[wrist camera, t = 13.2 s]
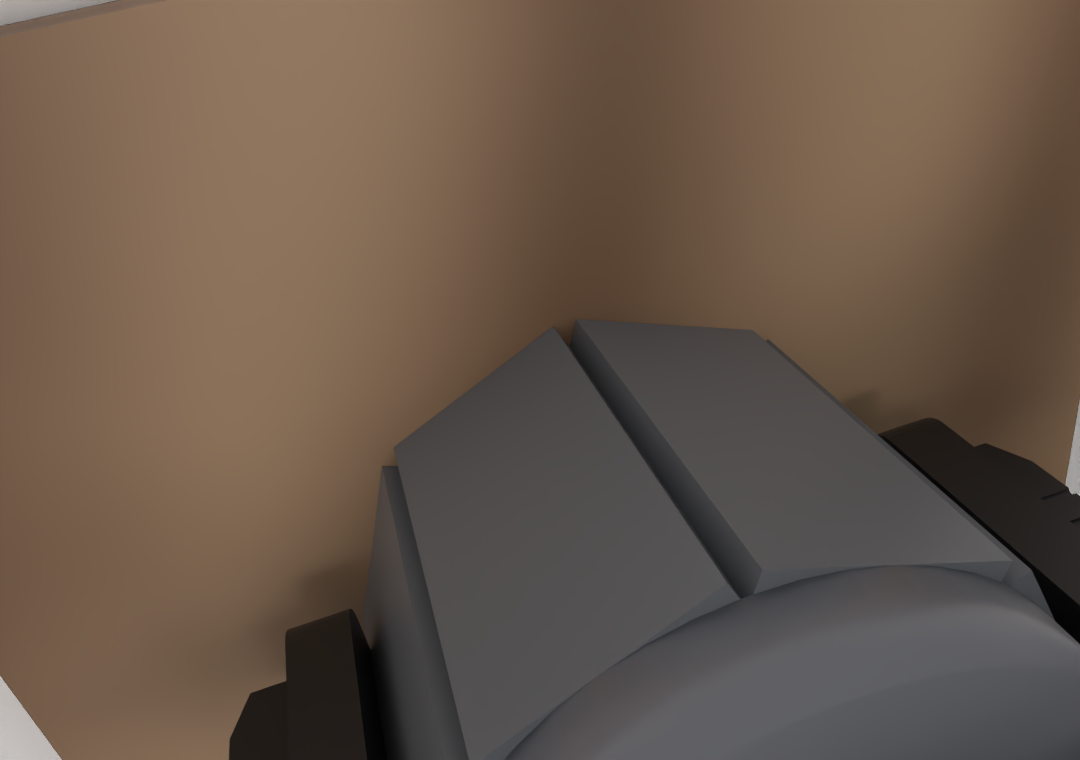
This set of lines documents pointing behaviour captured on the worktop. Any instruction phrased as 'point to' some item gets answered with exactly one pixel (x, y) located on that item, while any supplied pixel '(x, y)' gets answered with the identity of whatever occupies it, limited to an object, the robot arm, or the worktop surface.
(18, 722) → the worktop surface
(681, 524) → the cap
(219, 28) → the stub board
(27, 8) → the worktop surface
